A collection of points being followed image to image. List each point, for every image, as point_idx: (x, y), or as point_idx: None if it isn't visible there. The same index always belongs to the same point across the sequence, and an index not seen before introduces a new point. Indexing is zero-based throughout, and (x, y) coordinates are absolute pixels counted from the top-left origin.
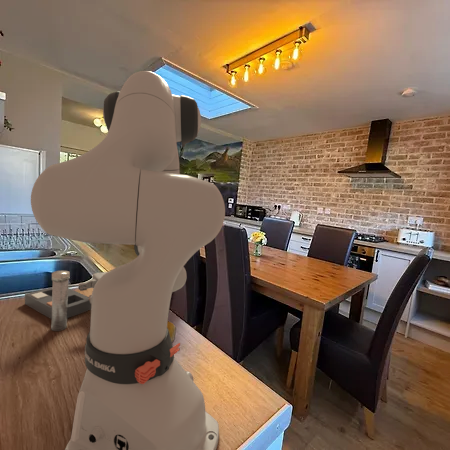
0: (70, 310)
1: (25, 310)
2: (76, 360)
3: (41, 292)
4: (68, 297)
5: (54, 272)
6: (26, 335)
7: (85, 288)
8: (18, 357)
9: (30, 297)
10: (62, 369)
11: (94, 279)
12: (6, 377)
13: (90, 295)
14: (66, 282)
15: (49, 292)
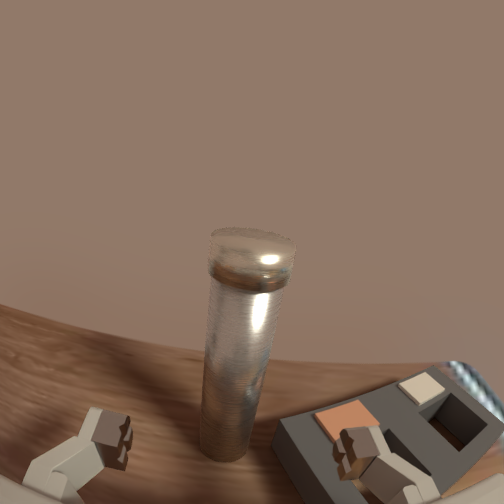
0: (300, 470)
1: None
2: (20, 400)
3: (442, 389)
4: (414, 460)
5: (270, 234)
6: None
7: (342, 468)
8: (131, 353)
9: (413, 375)
10: (22, 374)
11: (434, 496)
12: (86, 330)
13: (119, 415)
14: (217, 292)
15: (462, 412)
